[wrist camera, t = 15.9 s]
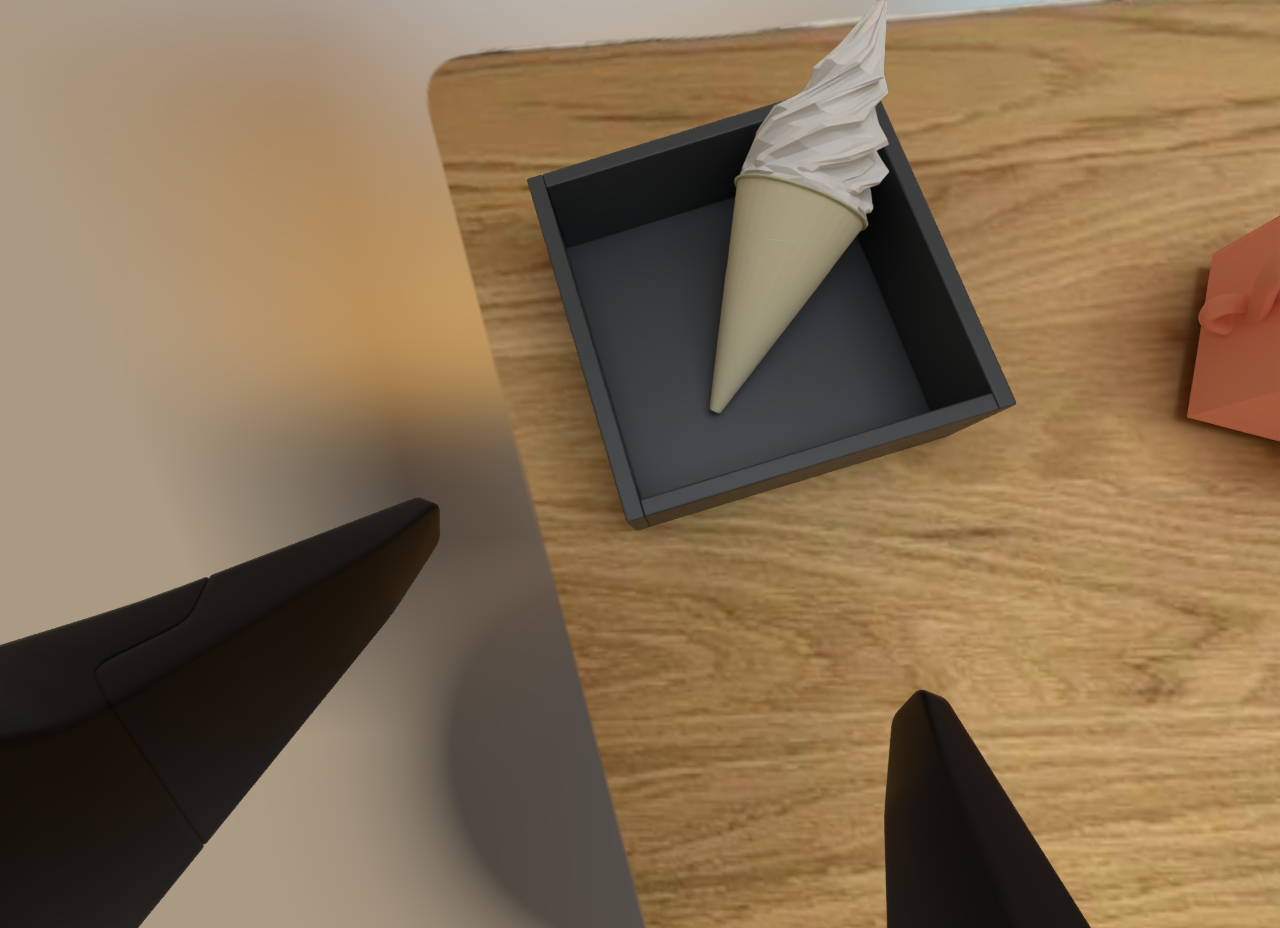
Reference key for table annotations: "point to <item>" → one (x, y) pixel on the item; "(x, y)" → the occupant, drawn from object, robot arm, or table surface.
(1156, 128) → the table surface
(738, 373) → the ice cream cone
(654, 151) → the storage bin
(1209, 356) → the teapot
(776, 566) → the table surface
